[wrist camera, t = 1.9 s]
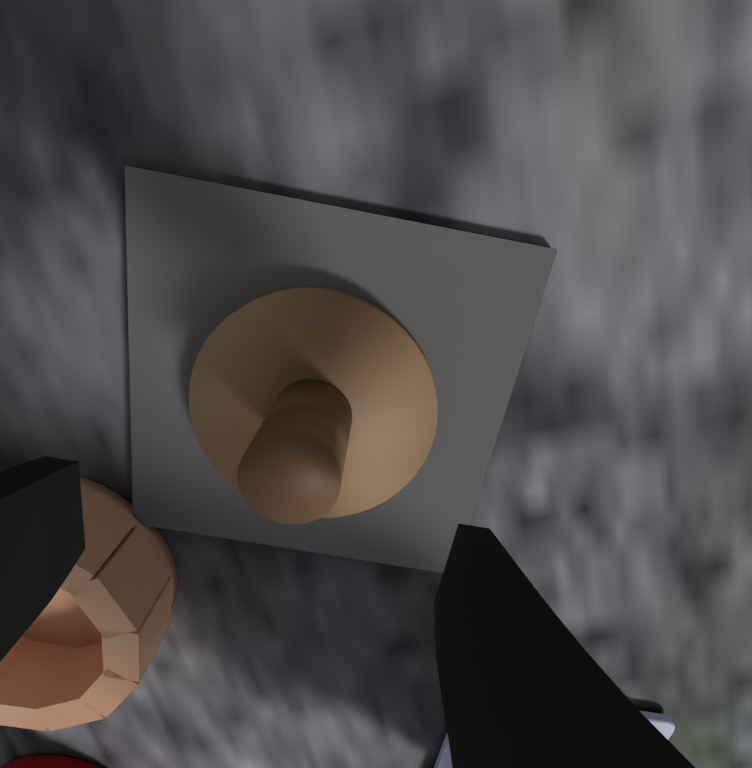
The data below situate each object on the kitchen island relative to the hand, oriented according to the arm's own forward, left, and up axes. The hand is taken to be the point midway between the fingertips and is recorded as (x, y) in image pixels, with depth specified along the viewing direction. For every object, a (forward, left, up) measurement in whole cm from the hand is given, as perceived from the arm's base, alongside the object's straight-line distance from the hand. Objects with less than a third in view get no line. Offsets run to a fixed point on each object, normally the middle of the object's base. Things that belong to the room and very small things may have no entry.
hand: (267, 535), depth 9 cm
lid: (0, 0, -6) cm, 6 cm away
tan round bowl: (+9, +9, -7) cm, 14 cm away
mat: (0, 0, -7) cm, 7 cm away
